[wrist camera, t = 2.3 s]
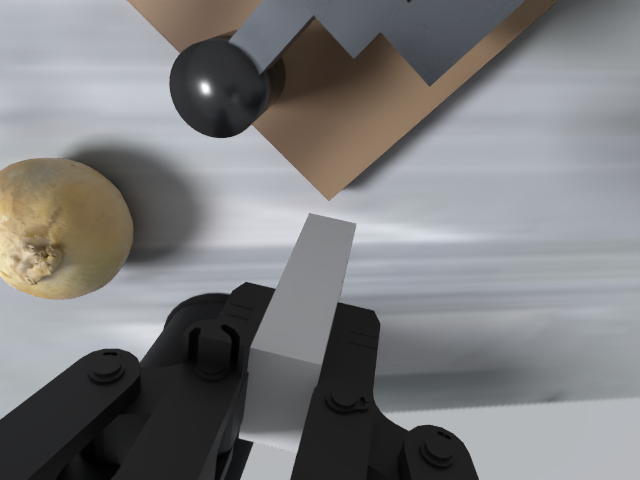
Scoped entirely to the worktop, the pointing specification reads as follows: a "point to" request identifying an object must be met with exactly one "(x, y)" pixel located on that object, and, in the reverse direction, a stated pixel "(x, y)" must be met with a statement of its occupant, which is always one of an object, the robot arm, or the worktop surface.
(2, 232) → the onion
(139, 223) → the worktop surface
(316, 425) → the robot arm
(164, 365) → the aerosol can
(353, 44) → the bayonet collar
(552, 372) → the worktop surface
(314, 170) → the base
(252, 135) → the worktop surface
